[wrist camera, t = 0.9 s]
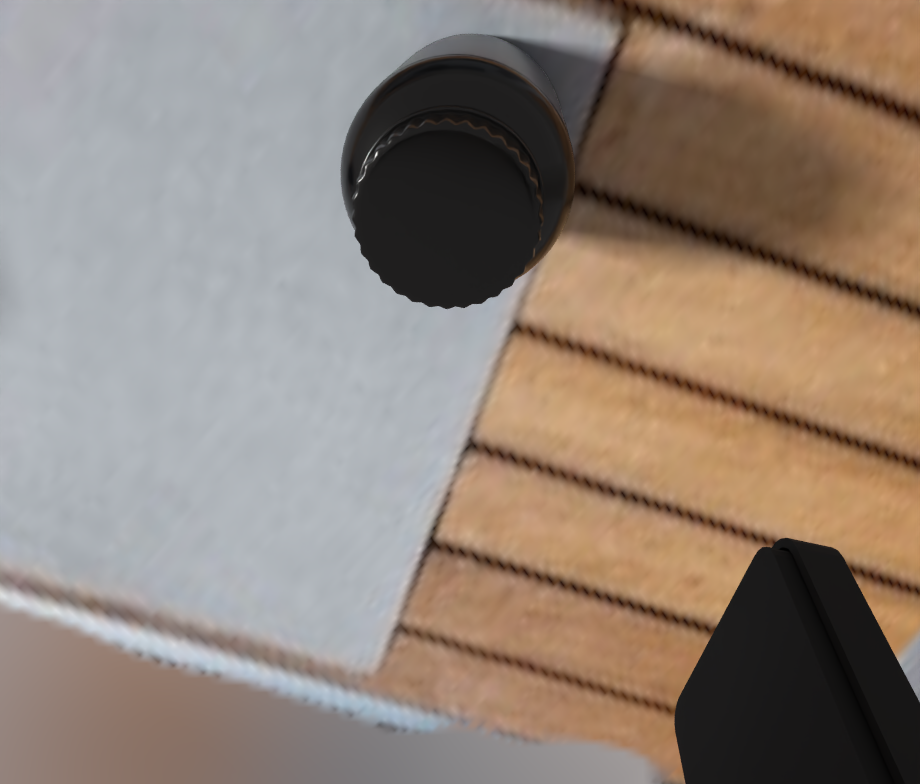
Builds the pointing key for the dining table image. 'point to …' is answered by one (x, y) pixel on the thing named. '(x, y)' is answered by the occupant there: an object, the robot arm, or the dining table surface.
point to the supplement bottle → (458, 171)
